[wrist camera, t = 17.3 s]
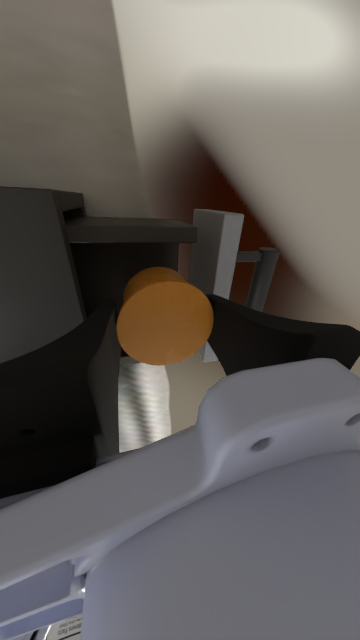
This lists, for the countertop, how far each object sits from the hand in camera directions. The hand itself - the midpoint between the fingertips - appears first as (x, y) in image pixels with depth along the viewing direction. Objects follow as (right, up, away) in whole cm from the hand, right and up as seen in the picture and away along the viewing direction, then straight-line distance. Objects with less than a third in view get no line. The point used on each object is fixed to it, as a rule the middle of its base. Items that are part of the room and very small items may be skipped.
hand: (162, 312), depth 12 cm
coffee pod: (0, +1, +1) cm, 2 cm away
